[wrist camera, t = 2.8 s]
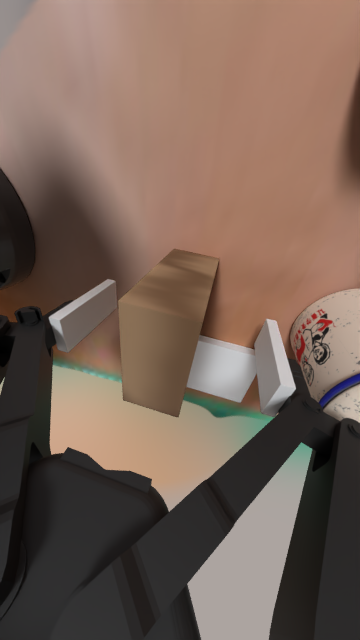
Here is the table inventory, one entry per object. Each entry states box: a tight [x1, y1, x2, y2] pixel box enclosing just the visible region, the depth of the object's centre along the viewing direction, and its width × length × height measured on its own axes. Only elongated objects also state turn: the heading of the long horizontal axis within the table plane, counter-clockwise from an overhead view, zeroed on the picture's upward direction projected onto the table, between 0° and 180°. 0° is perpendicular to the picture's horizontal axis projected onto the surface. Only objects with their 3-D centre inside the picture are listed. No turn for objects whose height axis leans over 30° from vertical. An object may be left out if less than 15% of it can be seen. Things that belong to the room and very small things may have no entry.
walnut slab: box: [118, 249, 219, 417], centre depth 15 cm, size 4×8×10 cm, turn 172°
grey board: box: [186, 335, 257, 403], centre depth 23 cm, size 10×8×1 cm
